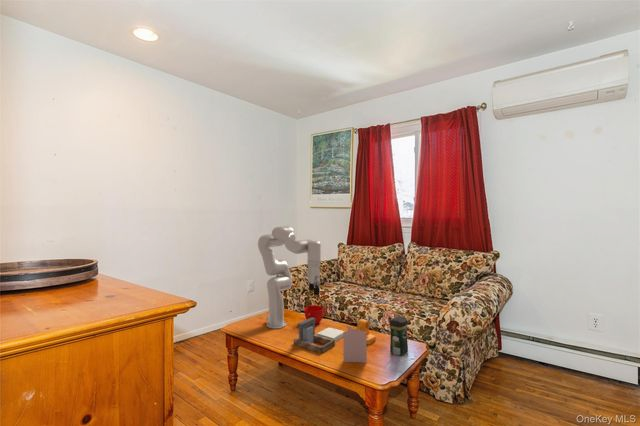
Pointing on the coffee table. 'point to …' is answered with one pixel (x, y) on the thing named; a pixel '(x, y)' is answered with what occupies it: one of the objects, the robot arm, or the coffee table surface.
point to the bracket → (366, 330)
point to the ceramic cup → (314, 312)
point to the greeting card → (354, 346)
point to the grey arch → (304, 324)
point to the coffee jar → (398, 336)
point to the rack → (320, 349)
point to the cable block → (308, 334)
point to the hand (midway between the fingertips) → (314, 292)
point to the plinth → (331, 333)
